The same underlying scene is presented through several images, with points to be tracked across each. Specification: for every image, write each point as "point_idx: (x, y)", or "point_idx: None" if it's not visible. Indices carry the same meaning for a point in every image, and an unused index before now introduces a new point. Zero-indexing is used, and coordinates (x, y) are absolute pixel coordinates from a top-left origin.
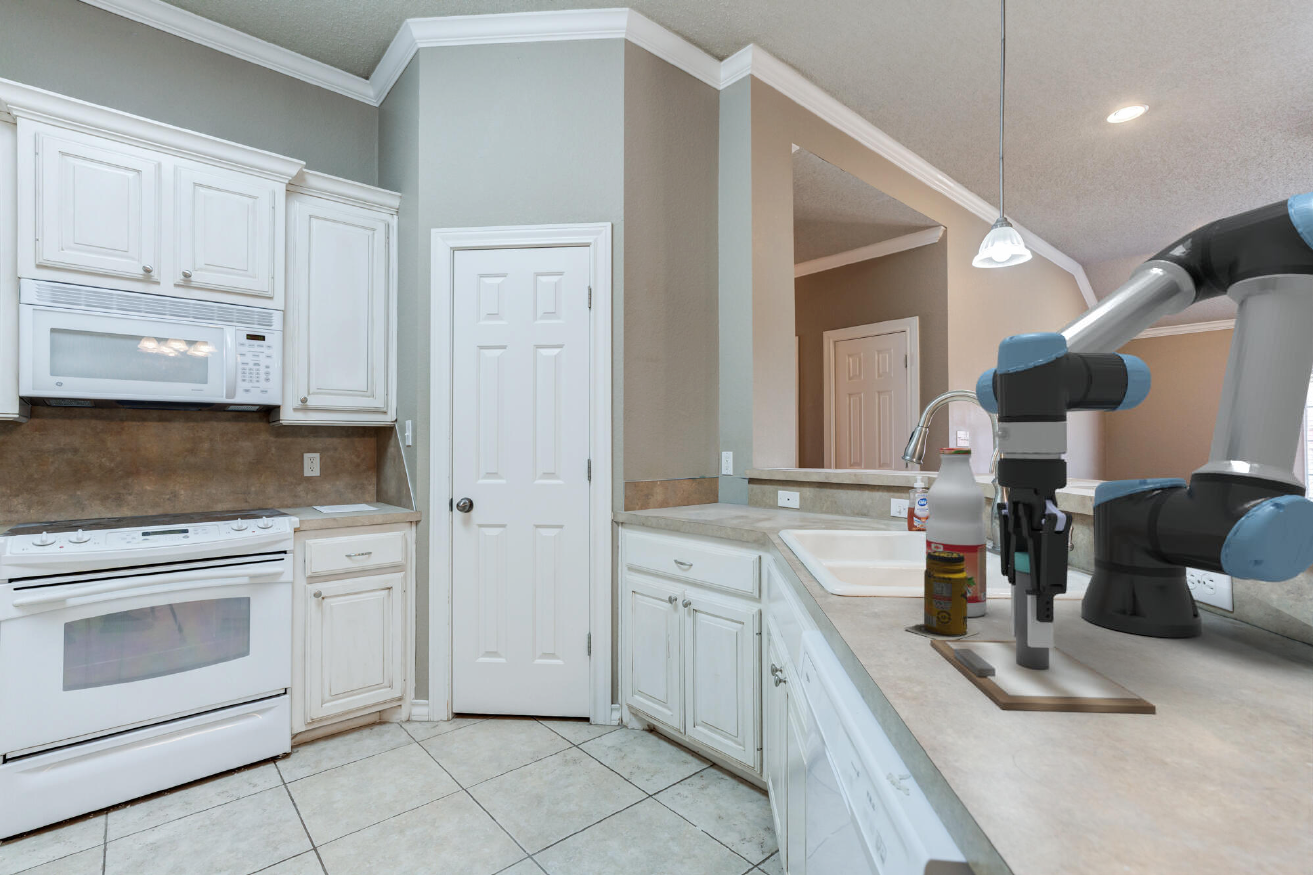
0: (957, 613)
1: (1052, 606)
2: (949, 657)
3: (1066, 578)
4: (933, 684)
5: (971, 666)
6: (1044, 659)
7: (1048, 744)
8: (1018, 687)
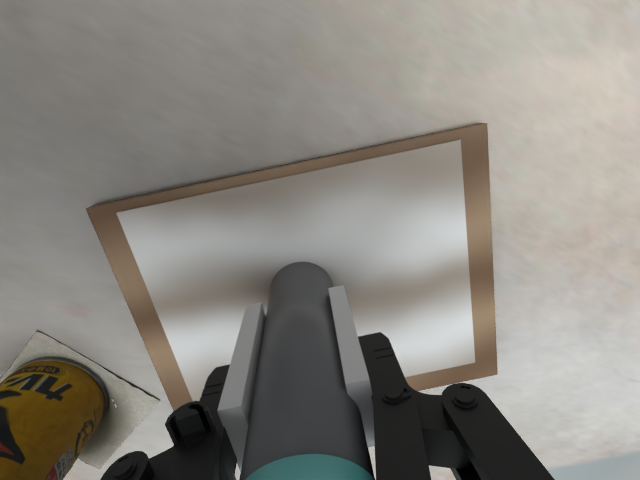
0: (67, 422)
1: (398, 366)
2: None
3: (522, 440)
4: None
5: None
6: (331, 285)
7: (600, 333)
8: (437, 342)
